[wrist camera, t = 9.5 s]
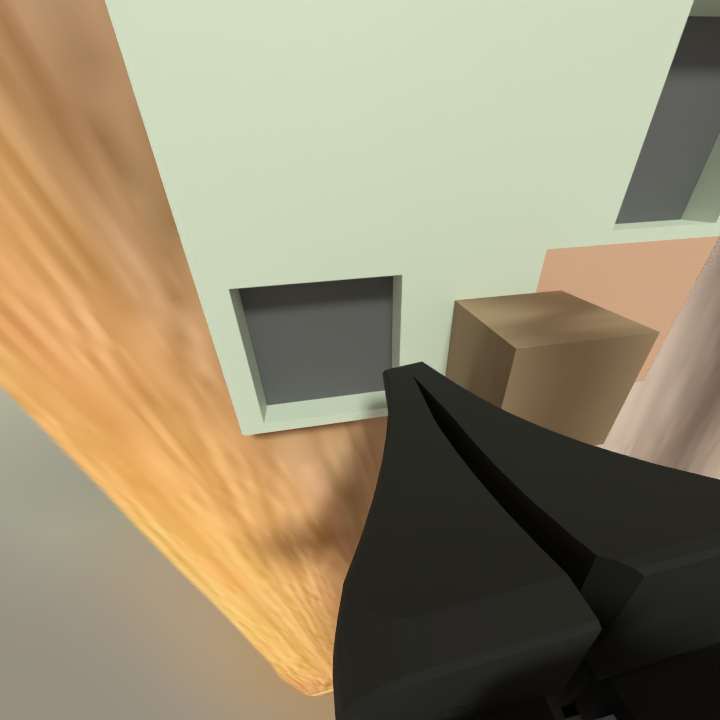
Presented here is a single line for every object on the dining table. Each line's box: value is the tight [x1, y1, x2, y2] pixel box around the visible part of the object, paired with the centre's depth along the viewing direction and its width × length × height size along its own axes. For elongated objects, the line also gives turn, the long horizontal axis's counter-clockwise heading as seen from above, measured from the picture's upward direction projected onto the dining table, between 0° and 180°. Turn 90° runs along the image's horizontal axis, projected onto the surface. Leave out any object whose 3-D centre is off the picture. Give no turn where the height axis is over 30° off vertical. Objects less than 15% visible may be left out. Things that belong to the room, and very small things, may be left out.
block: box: [445, 290, 660, 445], centre depth 11 cm, size 4×4×4 cm
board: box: [105, 0, 720, 436], centre depth 12 cm, size 20×14×2 cm
